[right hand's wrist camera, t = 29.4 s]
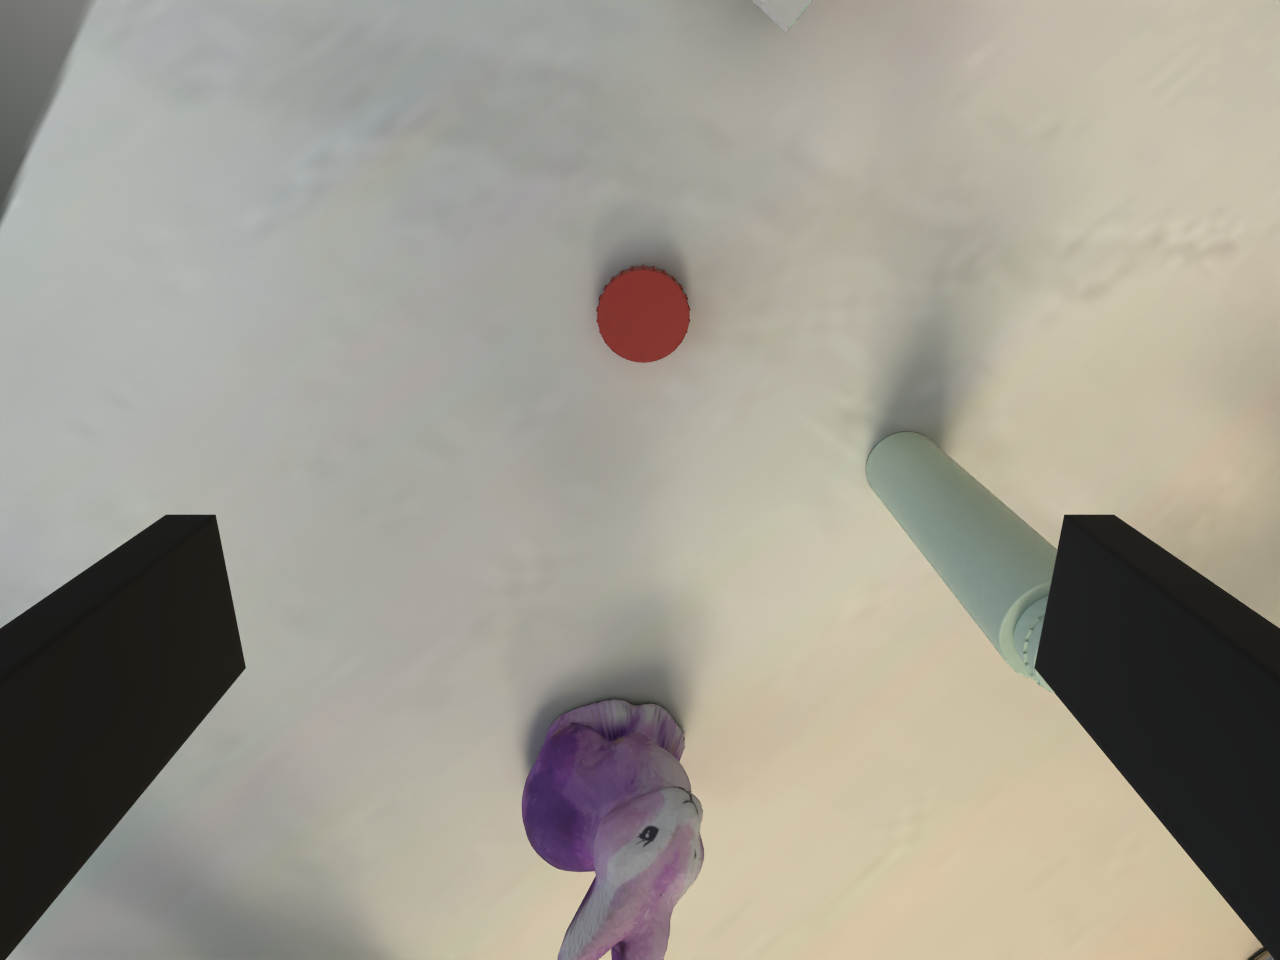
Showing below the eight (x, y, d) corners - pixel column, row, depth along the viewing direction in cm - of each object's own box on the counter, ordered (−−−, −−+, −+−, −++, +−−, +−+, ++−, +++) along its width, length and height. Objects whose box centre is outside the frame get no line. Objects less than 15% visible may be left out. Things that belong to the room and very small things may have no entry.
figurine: (705, 692, 48) (732, 900, 34) (665, 822, 52) (674, 1061, 37) (551, 661, 47) (514, 861, 33) (521, 795, 51) (475, 1028, 37)
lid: (698, 276, 40) (701, 281, 38) (675, 365, 41) (677, 373, 40) (608, 254, 40) (607, 257, 38) (589, 345, 41) (587, 352, 39)
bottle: (850, 466, 43) (995, 656, 26) (909, 416, 42) (1101, 578, 25) (896, 515, 44) (1066, 730, 27) (954, 467, 43) (1171, 658, 26)
